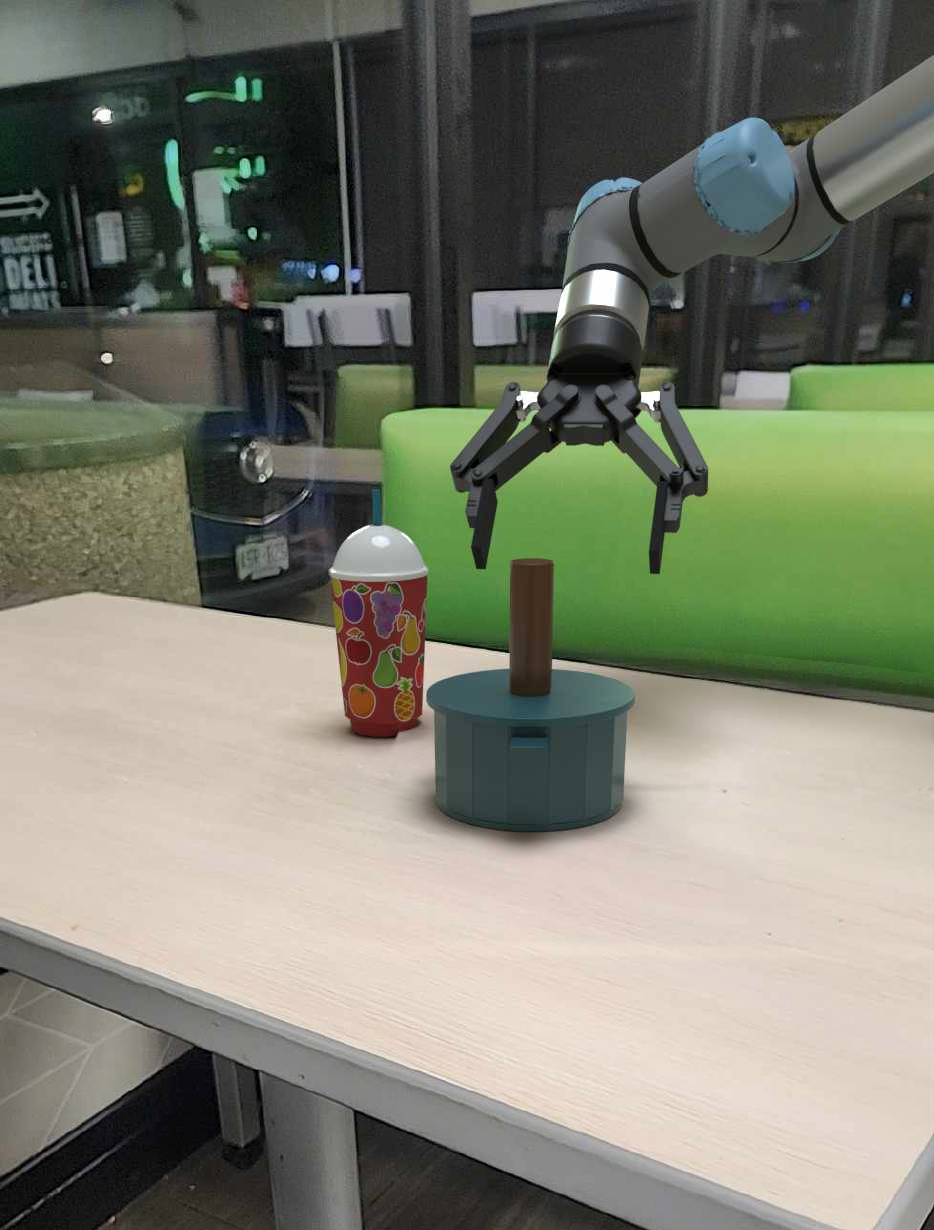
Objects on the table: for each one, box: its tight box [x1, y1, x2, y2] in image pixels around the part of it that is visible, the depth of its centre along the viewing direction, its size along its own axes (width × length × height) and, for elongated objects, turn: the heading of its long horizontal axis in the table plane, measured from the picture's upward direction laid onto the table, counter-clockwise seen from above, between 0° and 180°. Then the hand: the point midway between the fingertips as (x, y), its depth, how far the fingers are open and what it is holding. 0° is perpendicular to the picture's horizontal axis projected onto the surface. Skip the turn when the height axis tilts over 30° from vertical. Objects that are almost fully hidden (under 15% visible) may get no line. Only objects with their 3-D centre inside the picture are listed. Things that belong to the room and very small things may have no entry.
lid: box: [425, 557, 636, 727], centre depth 88 cm, size 15×15×10 cm
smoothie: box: [328, 489, 430, 738], centre depth 107 cm, size 8×8×20 cm
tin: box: [433, 710, 628, 833], centre depth 91 cm, size 14×19×8 cm
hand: (564, 561), depth 97 cm, fingers open, 13 cm apart
